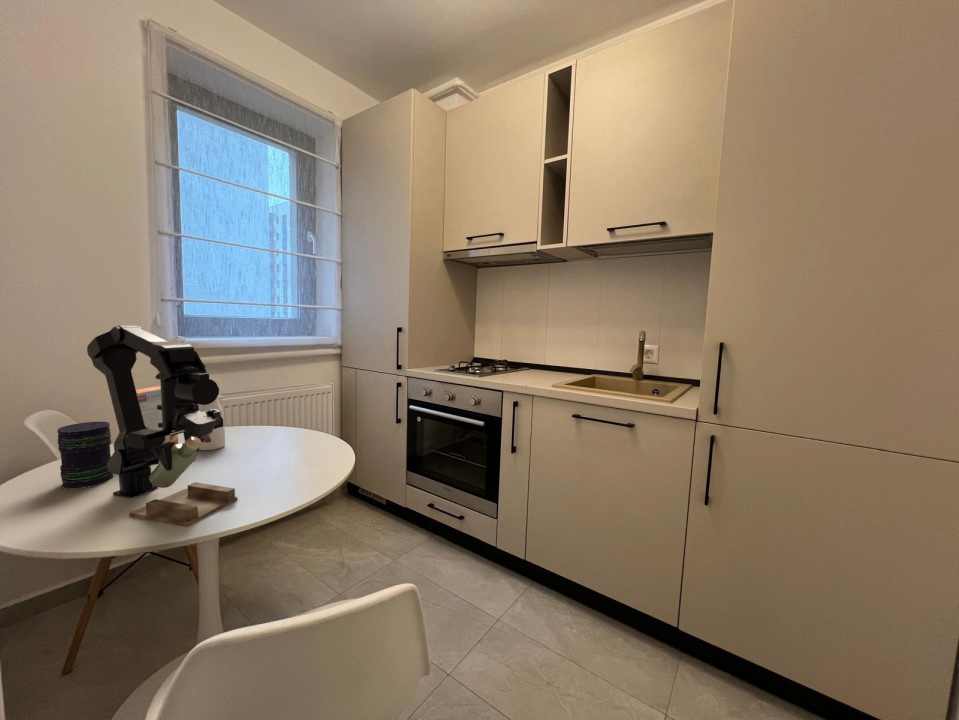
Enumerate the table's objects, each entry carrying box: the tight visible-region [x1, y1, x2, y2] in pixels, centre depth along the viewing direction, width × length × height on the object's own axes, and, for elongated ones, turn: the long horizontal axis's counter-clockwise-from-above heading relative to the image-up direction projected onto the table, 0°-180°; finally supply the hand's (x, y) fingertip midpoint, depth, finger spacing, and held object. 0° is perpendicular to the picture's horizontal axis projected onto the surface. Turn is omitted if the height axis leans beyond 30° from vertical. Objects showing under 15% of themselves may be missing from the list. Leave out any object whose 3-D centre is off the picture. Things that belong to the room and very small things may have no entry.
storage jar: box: [57, 421, 114, 489], centre depth 103 cm, size 10×10×15 cm
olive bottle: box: [149, 437, 202, 489], centre depth 90 cm, size 5×5×14 cm
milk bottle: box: [199, 397, 226, 451], centre depth 131 cm, size 8×8×20 cm
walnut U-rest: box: [129, 482, 238, 528], centre depth 91 cm, size 16×13×3 cm
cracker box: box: [136, 385, 179, 449], centre depth 125 cm, size 14×6×21 cm, turn 169°
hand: (180, 465), depth 90 cm, fingers closed on olive bottle, 5 cm apart
